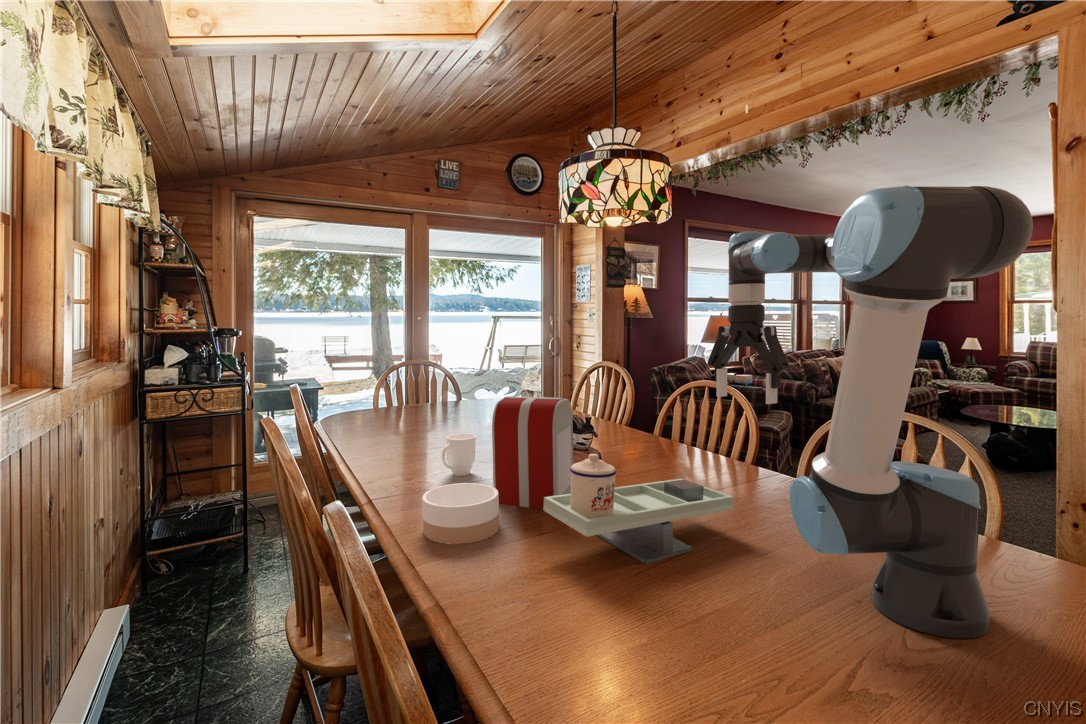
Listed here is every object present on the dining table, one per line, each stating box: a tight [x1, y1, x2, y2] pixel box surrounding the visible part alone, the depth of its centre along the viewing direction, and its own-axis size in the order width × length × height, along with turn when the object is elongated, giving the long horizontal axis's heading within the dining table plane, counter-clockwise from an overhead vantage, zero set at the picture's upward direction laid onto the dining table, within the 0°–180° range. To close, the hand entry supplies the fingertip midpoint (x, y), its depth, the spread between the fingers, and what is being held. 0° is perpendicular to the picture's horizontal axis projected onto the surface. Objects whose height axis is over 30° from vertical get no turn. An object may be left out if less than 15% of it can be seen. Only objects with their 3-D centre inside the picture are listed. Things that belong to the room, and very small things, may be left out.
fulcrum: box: [596, 521, 693, 566], centre depth 114 cm, size 18×12×7 cm, turn 29°
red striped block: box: [491, 395, 574, 510], centre depth 144 cm, size 17×18×27 cm
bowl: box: [421, 482, 500, 545], centre depth 123 cm, size 17×17×8 cm
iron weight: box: [664, 479, 705, 502], centre depth 120 cm, size 6×6×3 cm
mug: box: [441, 433, 477, 477], centre depth 167 cm, size 12×9×12 cm
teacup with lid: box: [570, 453, 617, 519], centre depth 109 cm, size 12×9×12 cm
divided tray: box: [542, 478, 735, 538], centre depth 114 cm, size 16×38×3 cm, turn 119°
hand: (745, 399), depth 121 cm, fingers open, 13 cm apart
